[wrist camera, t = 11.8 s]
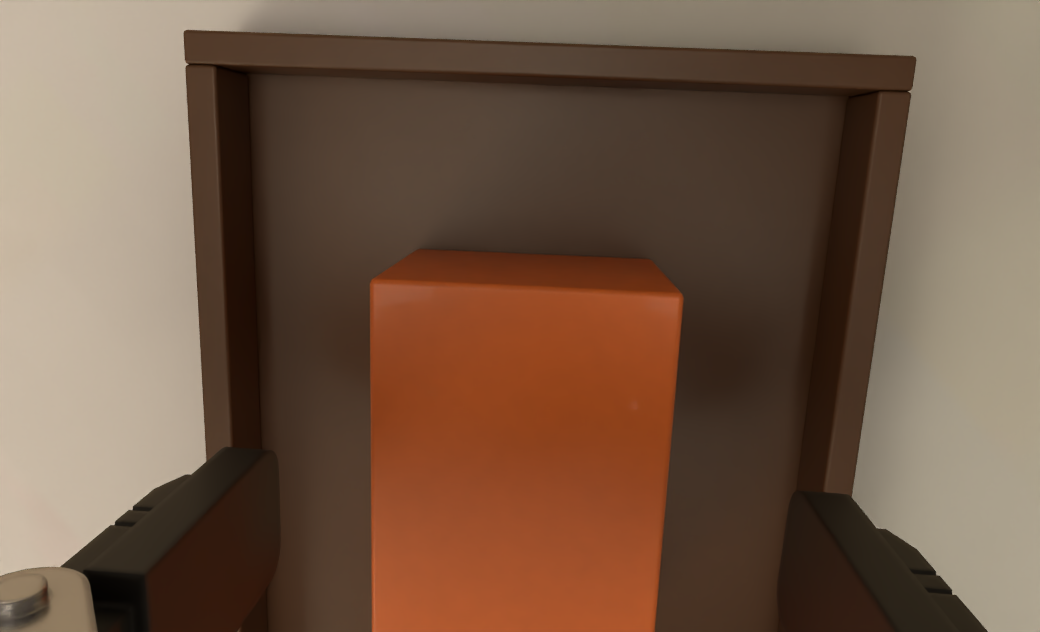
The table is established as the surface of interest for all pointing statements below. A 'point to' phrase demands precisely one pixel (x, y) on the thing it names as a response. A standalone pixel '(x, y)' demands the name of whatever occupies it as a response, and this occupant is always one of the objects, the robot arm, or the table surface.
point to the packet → (520, 441)
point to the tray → (550, 231)
